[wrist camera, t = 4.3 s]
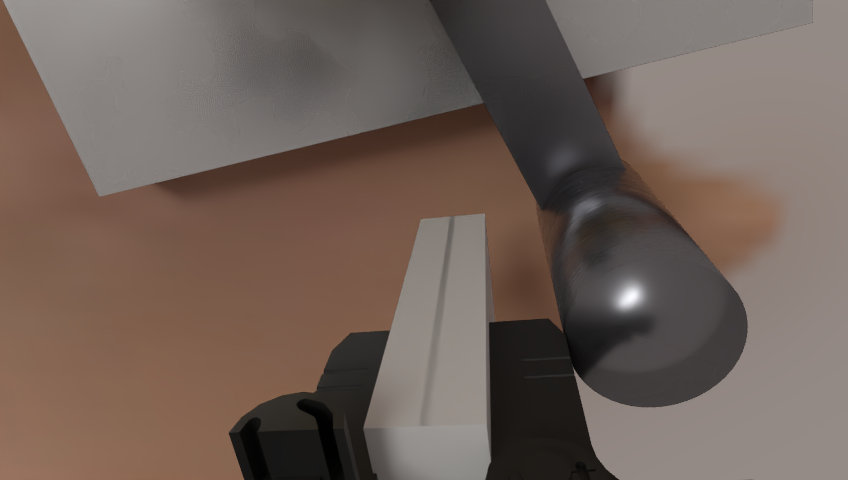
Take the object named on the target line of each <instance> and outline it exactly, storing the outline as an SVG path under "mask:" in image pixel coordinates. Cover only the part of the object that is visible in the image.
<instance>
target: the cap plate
mask: <svg viewBox="0 0 848 480" xmlns="http://www.w3.org/2000/svg"><path fill="white" fill-rule="evenodd" d="M3 2H4V4H5V6H6V8H7V10H8V12H9V14H10V16H11V18H12V20H13V22H14V24H15V26H16V28H17V30H18V32H19V34H20V36H21V38H22V40H23V42H24V44H25V46H26V48H27V50H28V53H29V55H30V57H31V59H32V61H33V63H34V65H35V67H36V69H37V71H38V73H39V75H40V77H41V79H42V81H43V83H44V85H45V87H46V89H47V91H48V93H49V95H50V97H51V99H52V101H53V103H54V105H55V108H56V110H57V112H58V114H59V116H60V118H61V120H62V122H63V124H64V126H65V128H66V130H67V132H68V134H69V136H70V138H71V140H72V142H73V144H74V146H75V148H76V150H77V152H78V154H79V156H80V158H81V160H82V163H83V165H84V167H85V169H86V171H87V173H88V175H89V177H90V179H91V181H92V183H93V185H94V187H95V189H96V191H97V193H98V195H99V197H100V196H104V195H108V194H113V193H117V192H121V191H125V190H129V189H133V188H137V187H141V186H145V185H149V184H154V183H158V182H162V181H166V180H170V179H174V178H178V177H182V176H186V175H191V174H195V173H199V172H203V171H207V170H211V169H215V168H219V167H223V166H227V165H232V164H236V163H240V162H244V161H248V160H252V159H256V158H260V157H264V156H268V155H273V154H277V153H281V152H285V151H289V150H293V149H297V148H301V147H305V146H309V145H314V144H318V143H322V142H326V141H330V140H334V139H338V138H342V137H346V136H350V135H355V134H359V133H363V132H367V131H371V130H375V129H379V128H383V127H387V126H392V125H396V124H400V123H404V122H408V121H412V120H416V119H420V118H424V117H428V116H433V115H437V114H441V113H445V112H449V111H453V110H457V109H461V108H465V107H469V106H474V105H478V104H482V103H484V102H483V100H482V98H481V96H480V95H479V93H478V91H477V89H476V87H475V85H474V83H473V81H472V80H471V78H470V76H469V74H468V72H467V70H466V68H465V67H464V65H463V63H462V61H461V59H460V57H459V55H458V53H457V52H456V50H455V48H454V46H453V44H452V42H451V40H450V39H449V37H448V35H447V33H446V31H445V29H444V27H443V26H442V24H441V22H440V20H439V18H438V16H437V14H436V12H435V11H434V9H433V7H432V5H431V3H430V1H429V0H3ZM546 2H547V4H548V6H549V8H550V11H551V13H552V15H553V17H554V19H555V21H556V23H557V25H558V28H559V30H560V32H561V34H562V36H563V38H564V40H565V42H566V44H567V47H568V49H569V51H570V53H571V55H572V57H573V59H574V61H575V64H576V66H577V68H578V70H579V72H580V74H581V76H582V78H583V79H584V78H588V77H592V76H597V75H601V74H605V73H609V72H613V71H617V70H621V69H625V68H629V67H634V66H637V65H641V64H646V63H650V62H654V61H657V60H662V59H666V58H670V57H675V56H678V55H683V54H687V53H691V52H695V51H699V50H703V49H707V48H711V47H716V46H719V45H723V44H727V43H732V42H736V41H740V40H744V39H748V38H752V37H757V36H761V35H765V34H769V33H773V32H777V31H781V30H785V29H789V28H793V27H797V26H802V25H806V24H810V23H813V20H812V19H813V18H812V17H813V10H812V9H813V7H812V0H546Z"/></svg>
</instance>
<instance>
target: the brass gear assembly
mask: <svg viewBox="0 0 848 480" xmlns="http://www.w3.org/2000/svg"><path fill="white" fill-rule="evenodd" d="M429 1H430V3H431V5H432V7H433V9H434V11H435V12H436V14H437V16H438V18H439V20H440V22H441V24H442V26H443V27H444V29H445V31H446V33H447V35H448V37H449V39H450V40H451V42H452V44H453V46H454V48H455V50H456V52H457V53H458V55H459V57H460V59H461V61H462V63H463V65H464V67H465V68H466V70H467V72H468V74H469V76H470V78H471V80H472V81H473V83H474V85H475V87H476V89H477V91H478V93H479V95H480V96H481V98H482V100H483V102H484V104H485V106H486V108H487V109H488V111H489V113H490V115H491V117H492V119H493V121H494V123H495V124H496V126H497V128H498V130H499V132H500V134H501V136H502V137H503V139H504V141H505V143H506V145H507V147H508V149H509V151H510V152H511V154H512V156H513V158H514V160H515V162H516V164H517V165H518V167H519V169H520V171H521V173H522V175H523V177H524V179H525V180H526V182H527V184H528V186H529V188H530V190H531V192H532V193H533V195H534V197H535V199H536V201H537V203H536V210H537V216H538V221H539V225H540V230H541V234H542V239H543V243H544V248H545V252H546V257H547V261H548V265H549V270H550V274H551V279H552V283H553V288H554V292H555V297H556V301H557V306H558V310H559V315H560V319H561V323H562V328H563V332H564V334H565V336H566V340H567V345H568V349H569V353H570V359H571V361H572V365H573V367H574V369H575V371H576V372H577V374H578V375H579V377H580V378H581V379H582V380H583V381H584V382H585V383H586V384H587V385H588V386H589V387H590V388H592V389H593V390H594V391H595V392H597V393H599V394H600V395H602V396H604V397H606V398H608V399H610V400H612V401H616V402H618V403H621V404H626V405H630V406H637V407H662V406H668V405H673V404H678V403H681V402H684V401H687V400H690V399H692V398H695V397H697V396H699V395H701V394H703V393H705V392H706V391H708V390H710V389H711V388H712V387H714V386H715V385H716V384H718V383H719V382H720V381H721V380H722V379H724V378H725V377H726V375H727V374H728V373H729V372H730V371H731V370H732V369H733V367H734V366H735V364H736V362H737V361H738V360H739V358H740V356H741V354H742V352H743V349H744V346H745V342H746V337H747V316H746V311H745V308H744V306H743V303H742V301H741V299H740V297H739V296H738V294H737V292H736V291H735V290H734V288H733V287H732V286H731V285H730V283H729V282H728V281H727V280H726V279H725V278H724V276H723V275H722V274H721V273H720V272H719V270H718V269H717V268H716V267H715V266H714V264H713V263H712V262H711V261H710V260H709V258H708V257H707V256H706V255H705V254H704V252H703V251H702V250H701V249H700V248H699V247H698V245H697V244H696V243H695V242H694V241H693V239H692V238H691V237H690V236H689V235H688V233H687V232H686V231H685V230H684V229H683V227H682V226H681V225H680V224H679V223H678V221H677V220H676V219H675V218H674V217H673V216H672V214H671V213H670V212H669V211H668V210H667V208H666V207H665V206H664V205H663V204H662V202H661V201H660V200H659V199H658V198H657V196H656V195H655V194H654V193H653V192H652V191H651V189H650V188H649V187H648V186H647V185H646V183H645V182H644V181H643V180H642V179H641V177H640V176H639V175H638V174H637V173H636V171H635V170H634V169H633V168H632V167H631V166H630V165H629V164H627V163H626V162H625V161H623V160H621V159H620V157H619V155H618V152H617V150H616V148H615V146H614V144H613V142H612V140H611V138H610V136H609V133H608V131H607V129H606V127H605V125H604V123H603V121H602V119H601V116H600V114H599V112H598V110H597V108H596V106H595V104H594V102H593V100H592V97H591V95H590V93H589V91H588V89H587V87H586V85H585V83H584V80H583V78H582V76H581V74H580V72H579V70H578V68H577V66H576V64H575V61H574V59H573V57H572V55H571V53H570V51H569V49H568V47H567V44H566V42H565V40H564V38H563V36H562V34H561V32H560V30H559V28H558V25H557V23H556V21H555V19H554V17H553V15H552V13H551V11H550V8H549V6H548V4H547V2H546V0H429Z"/></svg>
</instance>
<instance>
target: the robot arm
mask: <svg viewBox="0 0 848 480" xmlns="http://www.w3.org/2000/svg"><path fill="white" fill-rule="evenodd" d="M229 435H230V438H231V441H232V444H233V447H234V450H235V453H236V456H237V459H238V462H239V465H240V468H241V471H242V474H243V477H244V480H619V479H617V478H616V477H615V476H614V475H612V474H611V473H610V472H609V471H608V470H606V469H605V467H604V466H603V465H602V463H601V462H600V461H599V460H598V458H597V457H596V455H595V452H594V450H593V447H592V445H591V441H590V437H589V432H588V428H587V424H586V420H585V416H584V411H583V407H582V404H581V399H580V395H579V391H578V386H577V382H576V379H575V376H574V370H573V366H572V361H571V359H570V353H569V349H568V345H567V340H566V336H565V334H564V333H563V332H562V331H561V330H560V329H559V328H558V327H557V326H556V325H554V324H553V323H552V322H551V321H550V320H549V319H535V320H519V321H503V322H495V313H494V303H493V293H492V282H491V272H490V261H489V251H488V241H487V230H486V220H485V213H484V214H473V215H462V216H450V217H439V218H428V219H421V221H420V225H419V228H418V232H417V236H416V239H415V243H414V247H413V250H412V254H411V257H410V261H409V265H408V268H407V272H406V276H405V279H404V283H403V286H402V290H401V294H400V297H399V301H398V304H397V308H396V312H395V315H394V319H393V323H392V326H391V330H390V331H374V332H358V333H350V334H349V335H348V336H347V337H346V338H345V339H344V340H343V341H342V342H341V343H340V344H339V345H338V346H336V347H335V348H334V349H333V350H332V352H331V355H330V357H329V359H328V362H327V364H326V366H325V369H324V374H322V376H321V378H320V381H319V383H318V385H317V391H315V392H314V393H308V392H300V393H294V394H288V395H283V396H280V397H277V398H275V399H272V400H270V401H267V402H265V403H262V404H260V405H259V406H257V407H256V408H254V409H253V410H251V411H250V412H248V413H247V414H246V415H244V416H243V417H241V419H240V420H239V421H238V422H237V423H236V425H235V426H234V427H233V428H232V429H231V431H230V432H229Z"/></svg>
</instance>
